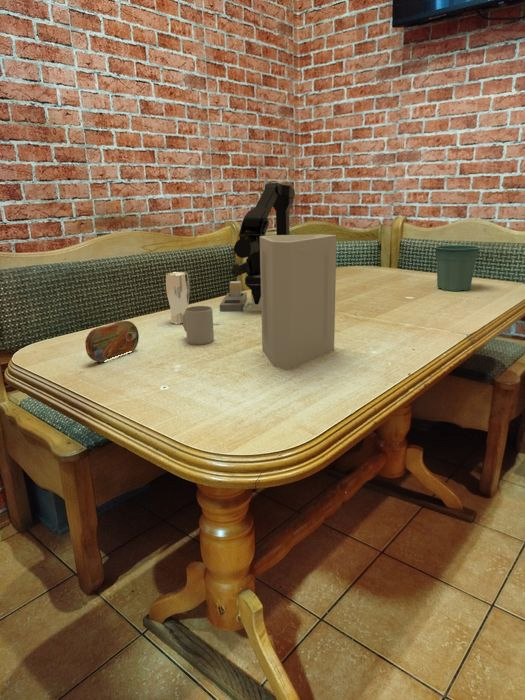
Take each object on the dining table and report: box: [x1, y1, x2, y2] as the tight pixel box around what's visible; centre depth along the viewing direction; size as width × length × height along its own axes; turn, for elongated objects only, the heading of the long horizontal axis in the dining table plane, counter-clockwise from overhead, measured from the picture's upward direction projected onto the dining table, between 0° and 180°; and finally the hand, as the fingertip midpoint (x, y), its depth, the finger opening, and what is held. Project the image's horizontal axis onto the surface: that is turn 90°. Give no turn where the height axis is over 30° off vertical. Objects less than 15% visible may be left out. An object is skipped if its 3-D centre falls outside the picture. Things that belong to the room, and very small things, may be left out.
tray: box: [242, 302, 261, 312], centre depth 169 cm, size 9×9×2 cm
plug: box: [250, 290, 261, 308], centre depth 168 cm, size 4×4×7 cm
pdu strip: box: [219, 280, 248, 313], centre depth 173 cm, size 7×20×8 cm, turn 177°
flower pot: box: [434, 244, 481, 292], centre depth 194 cm, size 16×16×16 cm
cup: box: [182, 305, 215, 346], centre depth 135 cm, size 7×10×9 cm
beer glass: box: [165, 271, 190, 325], centre depth 154 cm, size 7×7×15 cm
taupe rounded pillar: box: [260, 233, 338, 371], centre depth 119 cm, size 19×15×28 cm
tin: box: [84, 320, 140, 363], centre depth 123 cm, size 15×3×8 cm, turn 148°
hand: (257, 301), depth 168 cm, fingers open, 9 cm apart
